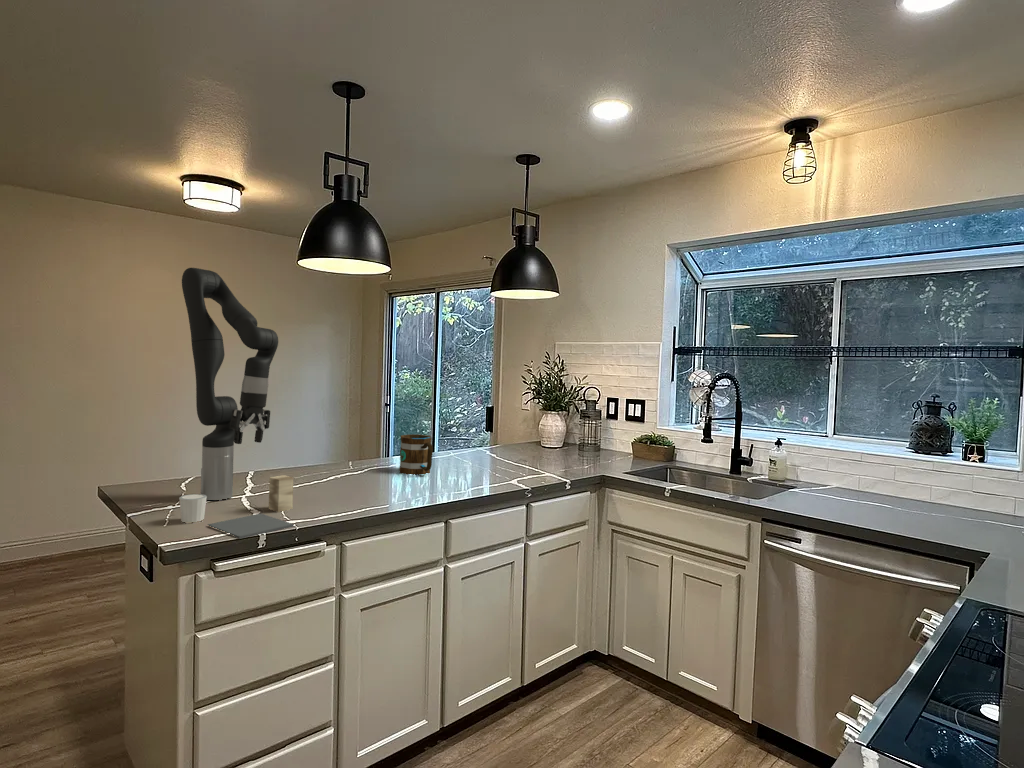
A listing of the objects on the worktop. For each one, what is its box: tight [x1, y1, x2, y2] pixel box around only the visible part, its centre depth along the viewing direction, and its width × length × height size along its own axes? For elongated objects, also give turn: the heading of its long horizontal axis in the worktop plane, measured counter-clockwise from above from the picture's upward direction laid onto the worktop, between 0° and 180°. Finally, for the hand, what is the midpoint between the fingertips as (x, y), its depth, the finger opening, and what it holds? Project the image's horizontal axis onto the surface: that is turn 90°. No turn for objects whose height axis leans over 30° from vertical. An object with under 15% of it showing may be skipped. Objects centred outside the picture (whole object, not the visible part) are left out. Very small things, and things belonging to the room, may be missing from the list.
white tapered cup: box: [178, 493, 207, 523], centre depth 170 cm, size 7×7×7 cm
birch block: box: [268, 474, 294, 513], centre depth 186 cm, size 5×5×10 cm
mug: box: [398, 433, 434, 476], centre depth 251 cm, size 20×14×15 cm
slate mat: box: [207, 513, 294, 540], centre depth 168 cm, size 16×16×1 cm
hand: (247, 442), depth 187 cm, fingers open, 8 cm apart
